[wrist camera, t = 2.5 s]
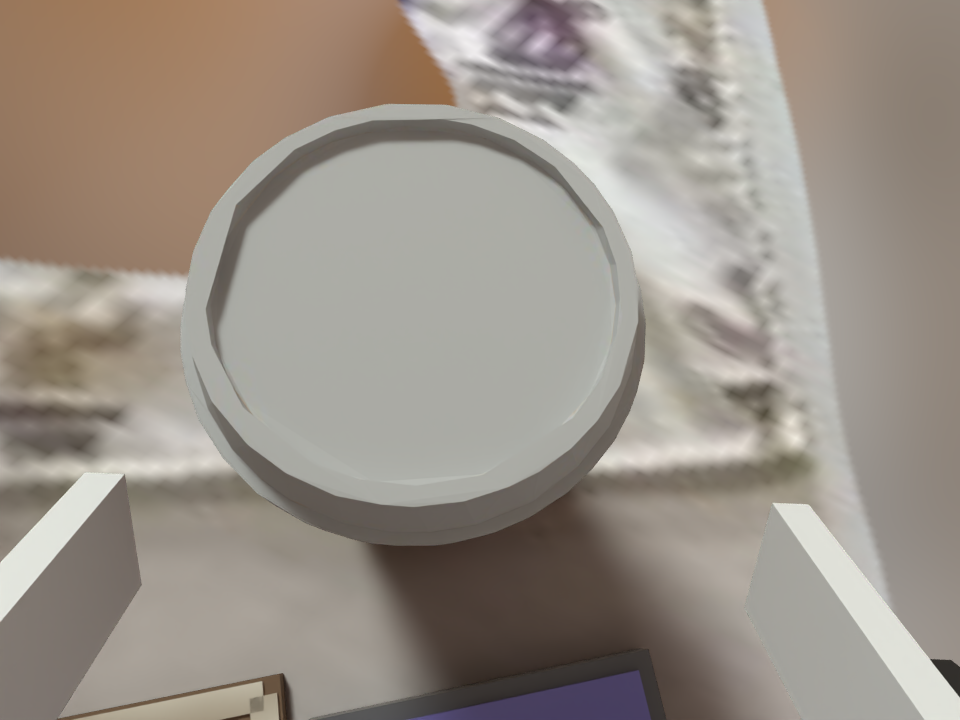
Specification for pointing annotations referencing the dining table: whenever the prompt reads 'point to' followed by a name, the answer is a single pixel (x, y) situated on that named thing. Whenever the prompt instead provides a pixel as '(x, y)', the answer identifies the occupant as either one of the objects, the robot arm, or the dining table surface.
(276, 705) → the brown square tray
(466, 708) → the ink pad
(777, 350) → the dining table surface
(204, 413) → the disposable coffee cup
